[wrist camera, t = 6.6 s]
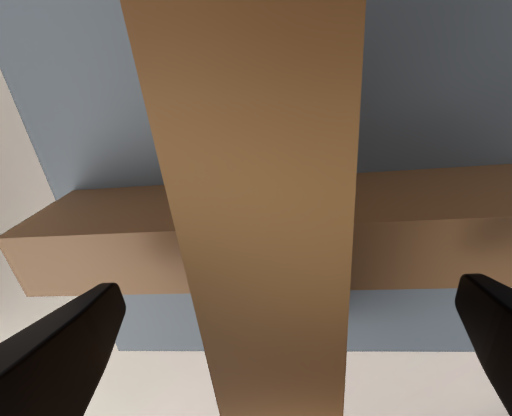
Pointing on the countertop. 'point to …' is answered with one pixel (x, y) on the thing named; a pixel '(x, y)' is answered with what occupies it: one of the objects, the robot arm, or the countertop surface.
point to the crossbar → (260, 184)
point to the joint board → (396, 127)
